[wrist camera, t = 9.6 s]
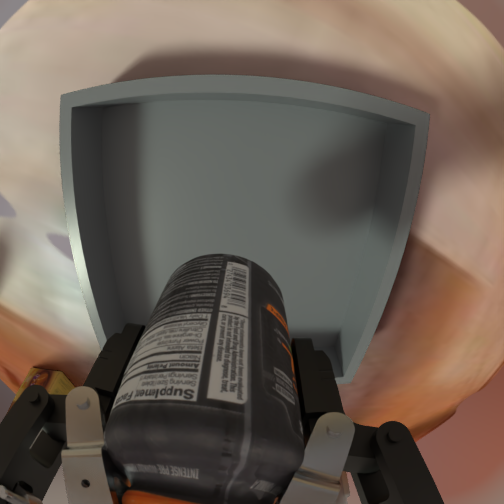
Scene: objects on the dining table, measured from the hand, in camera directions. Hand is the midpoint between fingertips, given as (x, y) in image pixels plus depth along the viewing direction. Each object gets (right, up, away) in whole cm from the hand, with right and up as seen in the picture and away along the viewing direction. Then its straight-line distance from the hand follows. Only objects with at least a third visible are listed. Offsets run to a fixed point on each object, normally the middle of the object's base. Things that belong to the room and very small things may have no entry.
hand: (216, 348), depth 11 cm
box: (0, +5, +10) cm, 11 cm away
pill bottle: (0, +1, +3) cm, 3 cm away
